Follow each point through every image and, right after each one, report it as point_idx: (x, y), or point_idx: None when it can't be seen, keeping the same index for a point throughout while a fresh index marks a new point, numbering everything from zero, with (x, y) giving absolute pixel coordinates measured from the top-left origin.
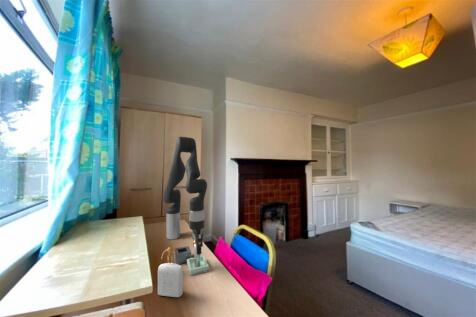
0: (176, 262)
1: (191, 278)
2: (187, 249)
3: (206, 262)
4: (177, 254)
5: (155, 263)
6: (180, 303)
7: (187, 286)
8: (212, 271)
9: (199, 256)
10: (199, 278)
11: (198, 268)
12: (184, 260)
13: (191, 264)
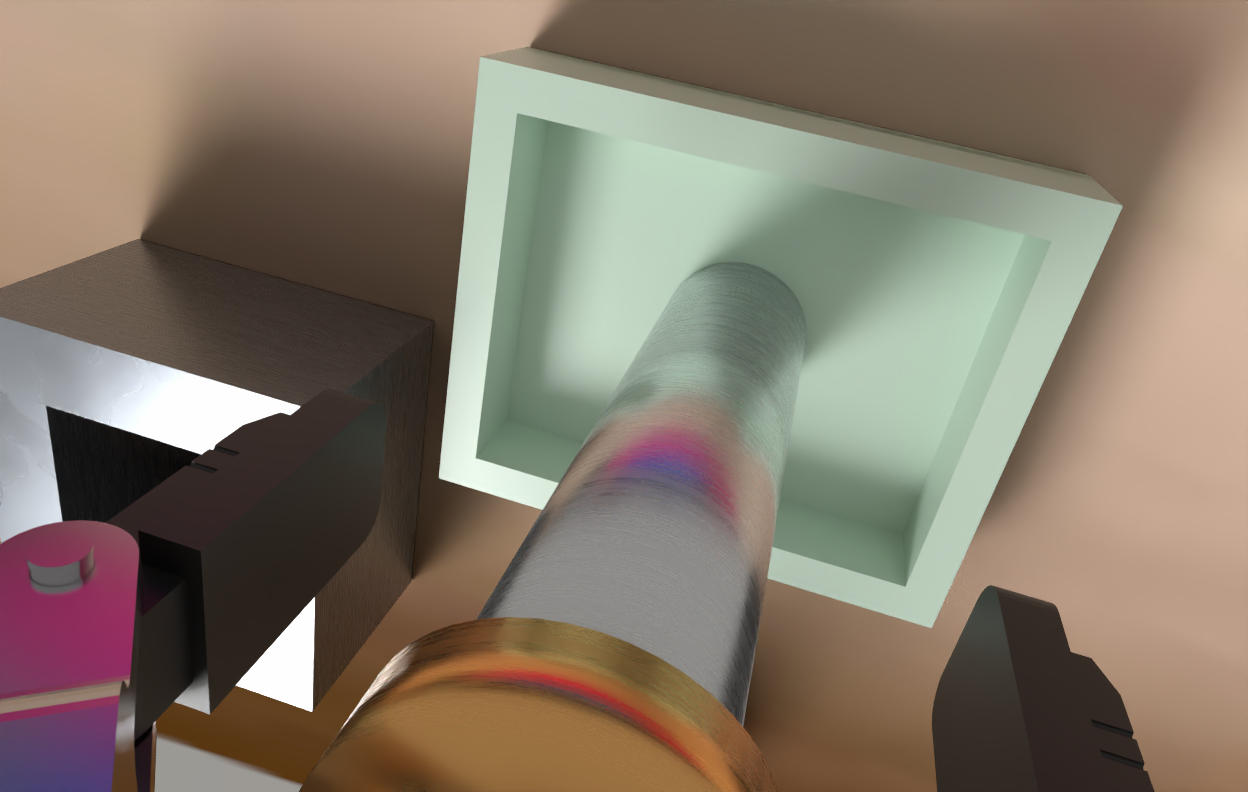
0: (395, 591)
1: (1044, 587)
2: (146, 417)
3: (904, 177)
4: (304, 677)
5: (242, 752)
6: None
7: (1219, 736)
8: (1193, 105)
9: (782, 423)
10: (1182, 483)
11: (999, 464)
12: (400, 467)
13: (597, 402)
